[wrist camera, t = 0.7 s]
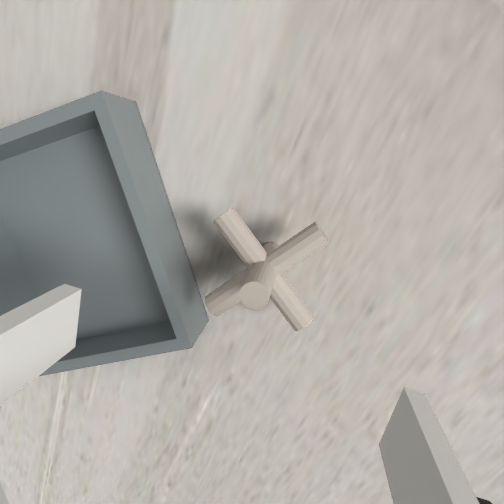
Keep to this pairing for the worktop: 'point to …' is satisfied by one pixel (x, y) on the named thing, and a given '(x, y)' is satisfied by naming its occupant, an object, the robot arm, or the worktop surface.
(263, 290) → the pipe connector
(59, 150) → the bin
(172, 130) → the worktop surface
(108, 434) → the worktop surface
